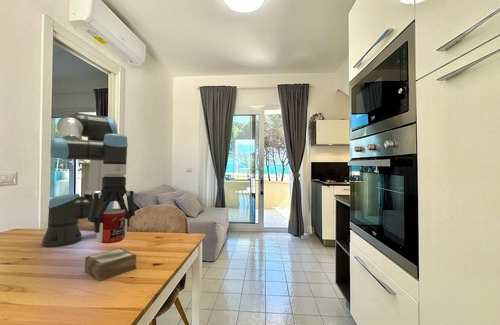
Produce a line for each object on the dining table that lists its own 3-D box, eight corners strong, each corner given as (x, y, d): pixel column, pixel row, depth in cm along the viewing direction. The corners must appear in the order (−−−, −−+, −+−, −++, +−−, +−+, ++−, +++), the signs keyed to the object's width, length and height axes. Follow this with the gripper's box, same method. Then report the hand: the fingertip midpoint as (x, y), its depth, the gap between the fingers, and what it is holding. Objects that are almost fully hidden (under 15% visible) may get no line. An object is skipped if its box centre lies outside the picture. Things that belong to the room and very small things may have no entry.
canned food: (113, 244, 78) (114, 212, 78) (93, 242, 79) (94, 211, 80) (129, 238, 85) (130, 209, 86) (111, 236, 87) (112, 208, 87)
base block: (84, 271, 80) (85, 256, 81) (120, 260, 90) (120, 247, 90) (99, 281, 73) (100, 265, 74) (135, 268, 83) (136, 254, 83)
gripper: (86, 176, 73) (82, 248, 72) (146, 176, 89) (144, 234, 88) (77, 175, 77) (74, 243, 76) (136, 175, 94) (134, 231, 93)
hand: (112, 238), depth 82 cm, fingers closed on canned food, 8 cm apart
